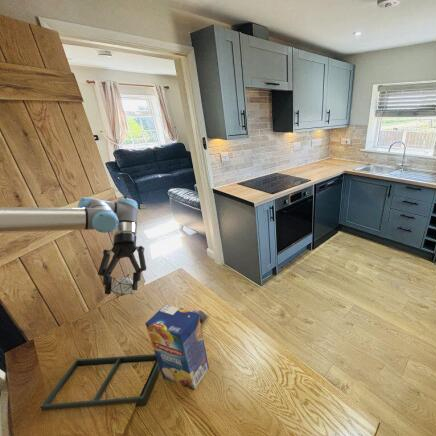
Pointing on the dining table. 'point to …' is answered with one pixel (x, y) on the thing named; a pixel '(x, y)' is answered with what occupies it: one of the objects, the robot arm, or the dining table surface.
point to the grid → (106, 383)
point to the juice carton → (178, 345)
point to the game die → (122, 286)
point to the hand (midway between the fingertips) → (121, 291)
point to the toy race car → (200, 315)
